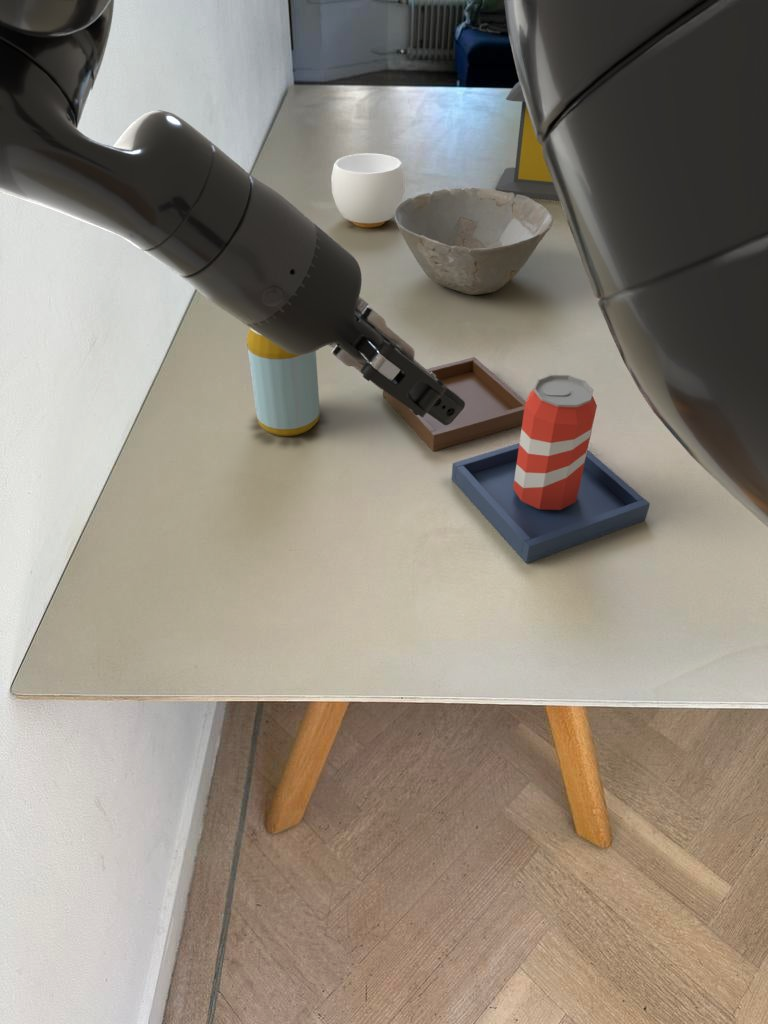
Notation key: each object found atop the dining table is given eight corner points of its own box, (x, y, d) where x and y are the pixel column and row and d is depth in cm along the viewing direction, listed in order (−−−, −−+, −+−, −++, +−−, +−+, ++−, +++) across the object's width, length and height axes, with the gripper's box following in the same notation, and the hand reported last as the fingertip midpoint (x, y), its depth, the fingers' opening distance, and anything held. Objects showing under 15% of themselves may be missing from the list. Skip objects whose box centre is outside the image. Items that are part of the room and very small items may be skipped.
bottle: (330, 427, 84) (323, 300, 75) (273, 445, 82) (257, 317, 72) (303, 397, 89) (293, 275, 79) (248, 414, 86) (230, 289, 77)
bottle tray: (530, 423, 85) (532, 407, 84) (432, 451, 81) (433, 435, 80) (473, 371, 94) (474, 356, 92) (382, 395, 89) (382, 379, 88)
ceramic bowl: (413, 324, 103) (415, 252, 97) (381, 257, 120) (380, 192, 114) (567, 309, 106) (579, 238, 100) (514, 246, 123) (521, 183, 117)
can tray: (645, 520, 73) (650, 503, 71) (526, 563, 68) (529, 546, 67) (561, 445, 82) (564, 429, 80) (451, 479, 77) (452, 462, 76)
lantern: (576, 177, 150) (605, -5, 130) (569, 201, 140) (600, 7, 120) (505, 171, 153) (523, -8, 133) (494, 194, 143) (511, 3, 123)
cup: (322, 215, 134) (319, 157, 128) (385, 205, 138) (385, 148, 132) (350, 239, 126) (348, 178, 120) (416, 228, 130) (417, 168, 123)
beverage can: (509, 475, 77) (523, 371, 69) (573, 476, 77) (594, 372, 69) (515, 514, 72) (530, 407, 64) (582, 515, 72) (606, 409, 64)
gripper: (354, 259, 41) (511, 392, 52) (268, 182, 51) (416, 308, 62) (271, 367, 43) (440, 473, 54) (203, 273, 53) (358, 380, 64)
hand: (427, 385), depth 58 cm, fingers open, 8 cm apart
